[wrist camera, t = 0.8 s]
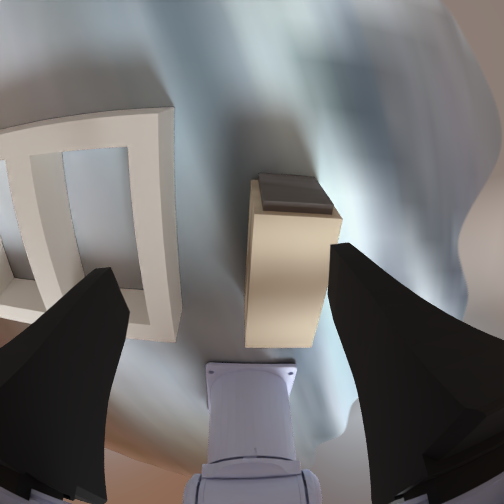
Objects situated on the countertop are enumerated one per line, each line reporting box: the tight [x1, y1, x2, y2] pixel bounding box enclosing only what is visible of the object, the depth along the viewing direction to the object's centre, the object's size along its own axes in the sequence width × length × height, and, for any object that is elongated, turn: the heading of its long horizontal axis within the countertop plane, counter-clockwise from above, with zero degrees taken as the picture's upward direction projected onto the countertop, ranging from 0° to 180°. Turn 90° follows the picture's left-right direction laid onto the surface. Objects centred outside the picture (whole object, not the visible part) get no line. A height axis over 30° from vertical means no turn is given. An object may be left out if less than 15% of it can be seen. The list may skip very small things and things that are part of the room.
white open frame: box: [0, 107, 183, 343], centre depth 17 cm, size 14×17×4 cm
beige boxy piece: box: [244, 173, 342, 348], centre depth 18 cm, size 9×4×5 cm, turn 177°
